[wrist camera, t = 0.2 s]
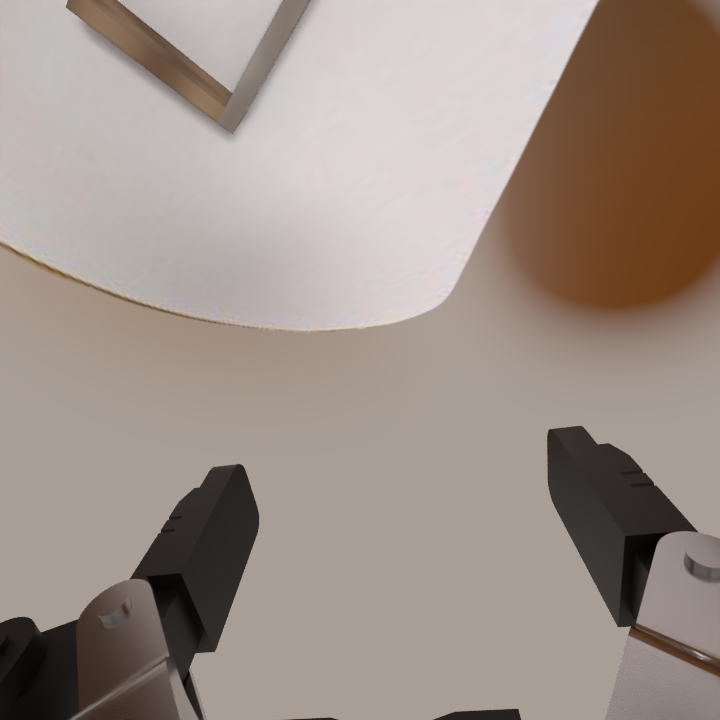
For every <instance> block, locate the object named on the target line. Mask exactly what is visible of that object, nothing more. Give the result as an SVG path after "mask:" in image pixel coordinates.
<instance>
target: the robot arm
mask: <svg viewBox="0 0 720 720" xmlns="http://www.w3.org/2000/svg"><path fill="white" fill-rule="evenodd" d="M547 438H548V439H547V451H548V452H547V453H548V486H549V491H550V495H551V498H552V502H553V504H554V506H555V508H556V510H557V512H558V514H559V516H560V517H561V519H562V521H563V523H564V525H565V527H566V529H567V531H568V533H569V535H570V536H571V539H572V540H573V542H574V544H575V546H576V548H577V550H578V552H579V554H580V556H581V558H582V559H583V561H584V563H585V565H586V567H587V569H588V571H589V573H590V575H591V577H592V578H593V580H594V582H595V584H596V586H597V588H598V590H599V592H600V594H601V595H602V597H603V599H604V601H605V603H606V605H607V607H608V609H609V611H610V613H611V615H612V617H613V618H614V620H615V622H616V624H617V626H618V627H628V626H631V628H630V631H629V634H628V637H627V641H626V644H625V648H624V651H623V655H622V659H621V663H620V666H619V670H618V673H617V677H616V681H615V684H614V688H613V691H612V695H611V699H610V702H609V706H608V710H607V713H606V717H605V720H720V539H719V538H716V537H713V536H710V535H707V534H703V533H699V532H698V531H697V530H696V529H695V528H694V527H693V526H692V525H691V524H690V523H689V521H688V520H687V519H686V518H685V517H684V516H683V515H682V514H681V512H680V511H679V510H678V509H677V508H676V507H675V506H674V505H673V504H672V502H671V501H670V500H669V499H668V498H667V497H666V496H665V495H664V494H663V492H662V491H661V490H660V489H659V488H658V487H657V486H654V483H653V481H652V480H651V479H650V478H649V477H648V476H647V474H646V473H643V471H642V469H641V468H640V467H639V465H638V464H637V463H636V462H635V461H634V460H633V459H632V458H631V457H630V455H628V454H626V453H625V452H623V451H621V450H619V449H618V448H616V447H614V446H612V445H611V444H609V443H608V444H599V445H598V444H597V443H596V442H595V441H594V440H593V438H592V437H591V436H590V435H589V433H588V432H587V431H586V430H585V429H584V427H582V426H575V427H567V428H557V429H550V430H549V431H548V436H547ZM258 528H259V512H258V508H257V505H256V502H255V499H254V495H253V492H252V490H251V486H250V483H249V480H248V477H247V474H246V471H245V469H244V467H243V466H242V465H241V464H237V465H228V466H219V467H213V468H212V469H211V470H210V471H209V473H208V475H207V476H206V478H205V480H204V481H203V483H202V484H201V486H200V488H194V489H193V490H192V491H191V492H190V493H188V494H187V495H186V496H185V497H184V498H183V499H182V500H181V501H179V503H178V504H177V506H176V507H175V509H174V510H173V512H172V514H171V515H170V517H169V520H167V521H166V523H165V525H164V526H163V528H162V529H161V533H159V534H158V536H157V537H156V539H155V540H154V542H153V543H152V545H151V546H150V548H149V550H148V551H147V553H146V554H145V556H144V557H143V559H142V561H141V562H140V564H139V565H138V567H137V569H136V570H135V572H134V573H133V575H132V576H131V578H130V579H129V580H126V581H123V582H120V583H117V584H115V585H113V586H111V587H110V588H108V589H106V590H105V591H103V592H102V593H100V594H99V595H98V596H97V597H96V598H95V599H93V600H92V601H91V602H90V603H89V604H88V606H87V607H86V608H85V609H84V611H83V612H82V614H81V615H80V617H79V619H78V620H75V621H72V622H69V623H66V624H64V625H61V626H58V627H55V628H53V629H50V630H47V631H44V632H40V631H39V629H38V628H37V626H36V625H35V623H34V622H33V620H32V619H30V618H27V617H17V618H13V619H10V620H6V621H4V622H2V623H0V720H207V719H206V715H205V712H204V709H203V706H202V703H201V699H200V696H199V693H198V690H197V686H196V683H195V680H194V677H193V674H192V672H191V670H190V665H191V663H192V660H193V657H194V655H195V653H204V652H215V650H216V648H217V645H218V642H219V639H220V636H221V634H222V631H223V628H224V625H225V622H226V620H227V617H228V614H229V611H230V608H231V606H232V603H233V600H234V597H235V595H236V592H237V589H238V586H239V583H240V581H241V578H242V575H243V572H244V569H245V566H246V564H247V561H248V558H249V555H250V552H251V550H252V547H253V544H254V541H255V539H256V536H257V533H258ZM291 720H292V719H291ZM293 720H337V719H333V718H312V719H293ZM434 720H521V718H520V714H519V710H518V709H505V710H484V711H462V712H453V713H450V714H448V715H445V716H442V717H440V718H437V719H434Z"/></svg>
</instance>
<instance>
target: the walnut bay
mask: <svg viewBox="0 0 720 720" xmlns="http://www.w3.org/2000/svg"><path fill="white" fill-rule="evenodd" d="M309 2H310V0H283V2H282V4H281V5H280V7H279V9H278V11H277V13H276V15H275V16H274V18H273V20H272V22H271V24H270V26H269V28H268V29H267V31H266V33H265V35H264V37H263V39H262V40H261V42H260V44H259V46H258V48H257V50H256V52H255V53H254V55H253V57H252V59H251V61H250V63H249V64H248V66H247V68H246V70H245V72H244V74H243V76H242V77H241V79H240V81H239V83H238V85H237V87H236V89H235V90H234V92H233V94H232V93H231V92H230V91H229V90H227V89H226V88H225V87H224V86H222V85H221V84H220V83H219V82H218V81H216V80H215V79H214V78H213V77H211V76H210V75H209V74H208V73H206V72H205V71H204V70H203V69H201V68H200V67H199V66H198V65H196V64H195V63H194V62H193V61H191V60H190V59H189V58H188V57H187V56H185V55H184V54H183V53H182V52H180V51H179V50H178V49H177V48H175V47H174V46H173V45H172V44H170V43H169V42H168V41H167V40H165V39H164V38H163V37H162V36H160V35H159V34H158V33H157V32H156V31H154V30H153V29H152V28H151V27H149V26H148V25H147V24H146V23H144V22H143V21H142V20H141V19H139V18H138V17H137V16H136V15H134V14H133V13H132V12H131V11H130V10H128V9H127V8H126V7H125V6H123V5H122V4H121V3H120V2H118V1H117V0H68V2H67V5H66V8H68V9H69V10H70V11H71V12H73V13H74V14H75V15H77V16H78V17H79V18H81V19H82V20H83V21H85V22H86V23H87V24H89V25H90V26H91V27H92V28H94V29H95V30H96V31H98V32H99V33H100V34H102V35H103V36H104V37H106V38H107V39H108V40H110V41H111V42H112V43H113V44H115V45H116V46H117V47H119V48H120V49H121V50H123V51H124V52H125V53H127V54H128V55H129V56H131V57H132V58H133V59H135V60H136V61H137V62H138V63H140V64H141V65H142V66H144V67H145V68H146V69H148V70H149V71H150V72H152V73H153V74H154V75H156V76H157V77H158V78H159V79H161V80H162V81H163V82H165V83H166V84H167V85H169V86H170V87H171V88H173V89H174V90H175V91H177V92H178V93H179V94H180V95H182V96H183V97H184V98H186V99H187V100H188V101H190V102H191V103H192V104H194V105H195V106H196V107H198V108H199V109H200V110H201V111H203V112H204V113H205V114H207V115H208V116H209V117H211V118H212V119H213V120H215V121H216V122H217V123H219V124H220V125H221V126H223V127H224V128H225V129H226V130H228V131H229V132H230V133H232V134H233V132H234V131H235V130H236V128H237V127H238V125H239V124H240V122H241V121H242V119H243V117H244V115H245V114H246V112H247V110H248V108H249V107H250V105H251V103H252V101H253V100H254V98H255V96H256V94H257V93H258V91H259V89H260V88H261V86H262V84H263V82H264V81H265V79H266V77H267V75H268V74H269V72H270V70H271V68H272V67H273V65H274V63H275V61H276V60H277V58H278V56H279V54H280V53H281V51H282V49H283V47H284V46H285V44H286V42H287V40H288V39H289V37H290V35H291V33H292V32H293V30H294V28H295V26H296V25H297V23H298V21H299V20H300V18H301V16H302V14H303V13H304V11H305V9H306V7H307V6H308V4H309Z"/></svg>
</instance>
